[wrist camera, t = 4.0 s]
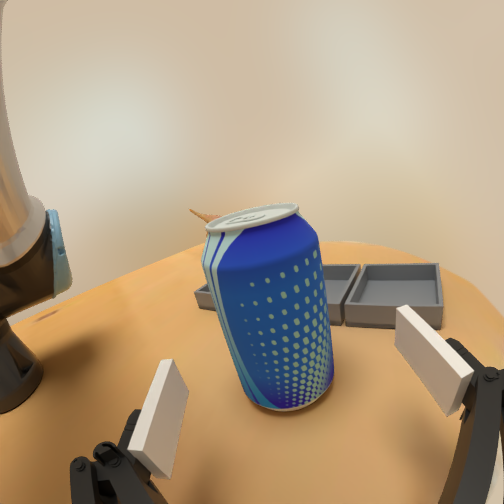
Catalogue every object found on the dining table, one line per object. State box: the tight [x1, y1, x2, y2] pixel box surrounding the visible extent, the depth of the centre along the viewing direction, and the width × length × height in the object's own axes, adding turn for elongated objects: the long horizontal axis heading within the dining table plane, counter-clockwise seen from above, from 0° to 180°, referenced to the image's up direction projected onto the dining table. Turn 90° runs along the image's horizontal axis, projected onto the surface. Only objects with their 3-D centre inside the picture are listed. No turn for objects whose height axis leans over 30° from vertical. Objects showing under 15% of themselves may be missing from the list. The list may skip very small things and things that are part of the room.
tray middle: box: [322, 264, 361, 326], centre depth 37 cm, size 11×11×3 cm
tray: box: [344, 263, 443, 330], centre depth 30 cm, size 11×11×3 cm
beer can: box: [201, 203, 334, 411], centre depth 21 cm, size 8×8×16 cm
